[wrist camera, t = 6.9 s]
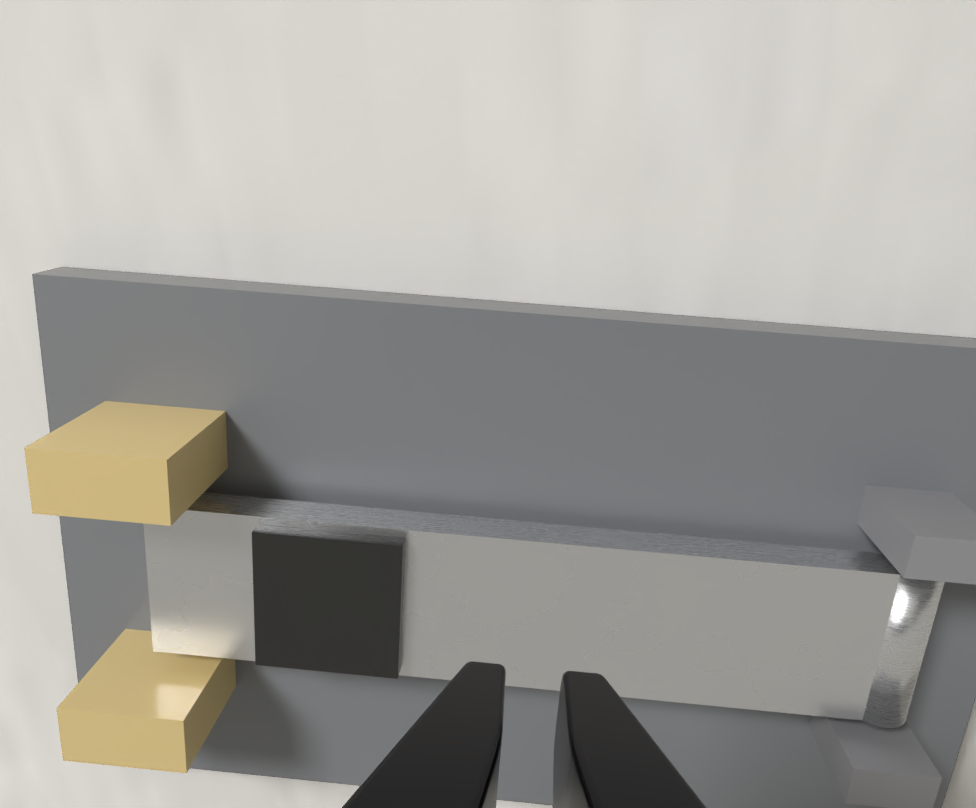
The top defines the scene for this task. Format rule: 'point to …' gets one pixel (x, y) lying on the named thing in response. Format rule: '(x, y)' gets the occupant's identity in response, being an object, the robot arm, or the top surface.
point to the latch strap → (540, 605)
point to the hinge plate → (493, 502)
